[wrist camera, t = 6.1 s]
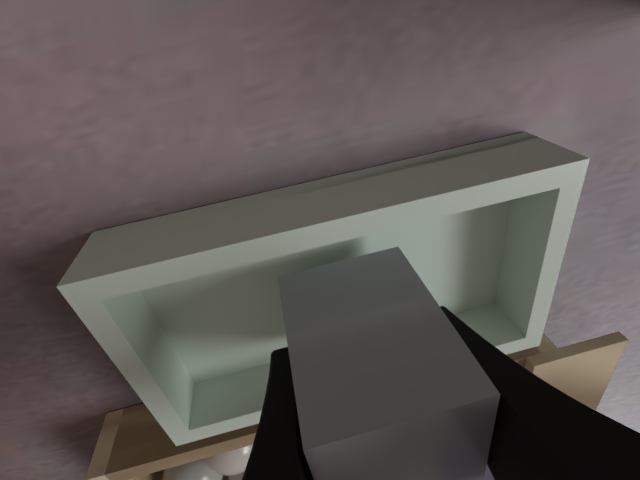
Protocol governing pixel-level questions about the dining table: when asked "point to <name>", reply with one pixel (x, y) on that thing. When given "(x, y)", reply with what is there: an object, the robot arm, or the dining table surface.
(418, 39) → the dining table surface
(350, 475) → the stone block
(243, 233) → the green tub
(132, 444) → the birch crate
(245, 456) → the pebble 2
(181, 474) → the grey ball
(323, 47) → the dining table surface
